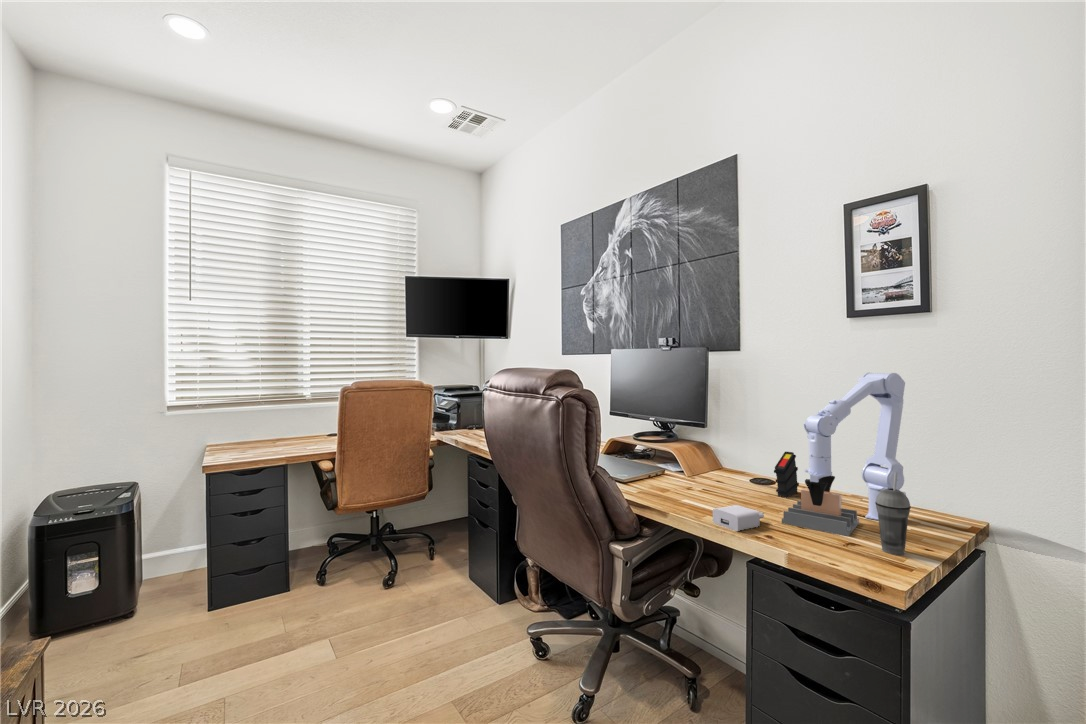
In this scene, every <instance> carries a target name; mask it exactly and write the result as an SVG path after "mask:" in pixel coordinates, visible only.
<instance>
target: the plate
mask: <svg viewBox="0 0 1086 724" xmlns="http://www.w3.org/2000/svg"><path fill="white" fill-rule="evenodd" d="M800 501H801V509H802V510H807V511H813V512H819V513H824V514H830V515H836V516H841V508H842V493H837V492H832V491H830V492H825V491H824V495H823V502H822V505H821V506H817V505H813V503H812V499H811V495H810V492H809V489H808V488H802V489H800Z"/></svg>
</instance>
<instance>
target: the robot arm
mask: <svg viewBox="0 0 1086 724" xmlns="http://www.w3.org/2000/svg"><path fill="white" fill-rule="evenodd" d="M905 386H906V381H905V380H904V379H903V378H902V376H901V375H900V374H899V373H896V372H891V373H890V372H889V373H888V372H887V373H886V372H880V373H879V372H875V373H874V372H866V373H864V374H863V375H862V376H861V377H859V378H858V381H857V383H856V384H855V385H854V386H853V387H852V388H851V389H850V390H849V391H848V392H847V393H846V394H845V395H844V396H843V397H842V398H840V399H838V398H837V399H831V400H829V402H828V404H827V405H826V406H825V407H823V408H822V409H820V410H818V413H816V414H811V415H810V416H808V417H807V418H806V420H805V422H804V423H803V429H804V430H805V432H806V434H807V439H808V468H806V469H804V473H808V474H809V479H808V478H806V479H804V484H805V485H806V487H807V489H809V492H810V495H811V499H812V503H813V505H817V506H821V505H822V502H823V495H824V491H825V492H831V489H832V484H833V482H834V481H835V479H836V476H834V475H833V471H832V435H834V434H835V433H836V430H837V428H838V426H839V424H840V423H841V422H842V421H843V420H844V419H846V418H848V416H849V415H850V414H851V411H852V410H851V408H853V407H854V406H856V405H857V404H858V403H861V401H862V400H864V399H866V398H867V397H868V396H870V397H872V398H874V399H875V400H876V401H877V402H878V403H879V404H880V410H879V417H878V424H877V431H876V437H875V445H874V452H873V455H871V456H869V457H868V458H867V459H865V460H866V461H865V465H864V467H863V469H862V472H861V478H862V480H863V481H864V483H865V484H866V486H865V487H868V512H867V514H866V515H864V516H865V517H864V518H865V519H871V520H876V521H879V519H878V512H877V508H876V504H875V502H876V498H877V496H878V494H879V493H880V492H881V491H882V490H884V489H888V488H892V489H893V488H894V476H895V472H897V483H896V489H897V490H899V491H901V492H903V493H904V494H905V495H906V496H907V493H906V492H905V491H902V490H901V489H902V488H903V487H904V484H905V476H904V466H903V465H902V464H901V463H900V462H899V461H898V460H897V452H898V451H897V449H898V443H899V435H900V429H901V423H902V422H901V421H902V415H903V408H904V395H905V393H904V392H905V389H906V388H905ZM884 466H885V467H884Z"/></svg>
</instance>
